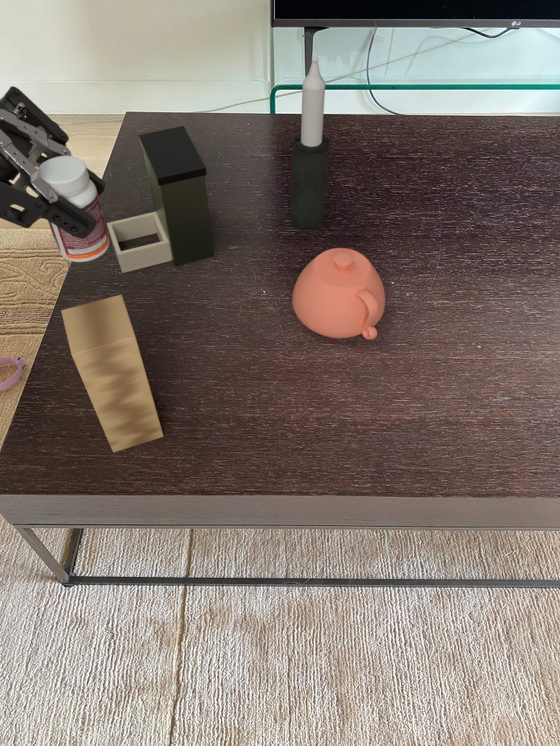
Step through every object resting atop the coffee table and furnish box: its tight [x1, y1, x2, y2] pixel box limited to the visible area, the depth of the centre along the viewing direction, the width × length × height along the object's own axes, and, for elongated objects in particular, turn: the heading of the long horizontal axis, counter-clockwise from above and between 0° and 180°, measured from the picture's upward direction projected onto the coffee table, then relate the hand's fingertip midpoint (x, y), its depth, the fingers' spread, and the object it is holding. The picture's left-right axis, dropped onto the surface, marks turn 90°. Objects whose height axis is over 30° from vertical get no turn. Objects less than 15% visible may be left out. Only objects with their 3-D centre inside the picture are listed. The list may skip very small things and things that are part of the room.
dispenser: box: [138, 125, 215, 267], centre depth 88 cm, size 6×10×15 cm, turn 21°
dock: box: [106, 211, 173, 274], centre depth 91 cm, size 7×7×4 cm
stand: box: [60, 294, 164, 453], centre depth 67 cm, size 6×6×18 cm
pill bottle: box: [37, 155, 110, 263], centre depth 55 cm, size 5×5×8 cm
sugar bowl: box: [291, 247, 386, 340], centre depth 80 cm, size 12×14×10 cm
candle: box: [290, 55, 331, 230], centre depth 87 cm, size 5×5×25 cm
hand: (94, 210), depth 55 cm, fingers closed on pill bottle, 4 cm apart
